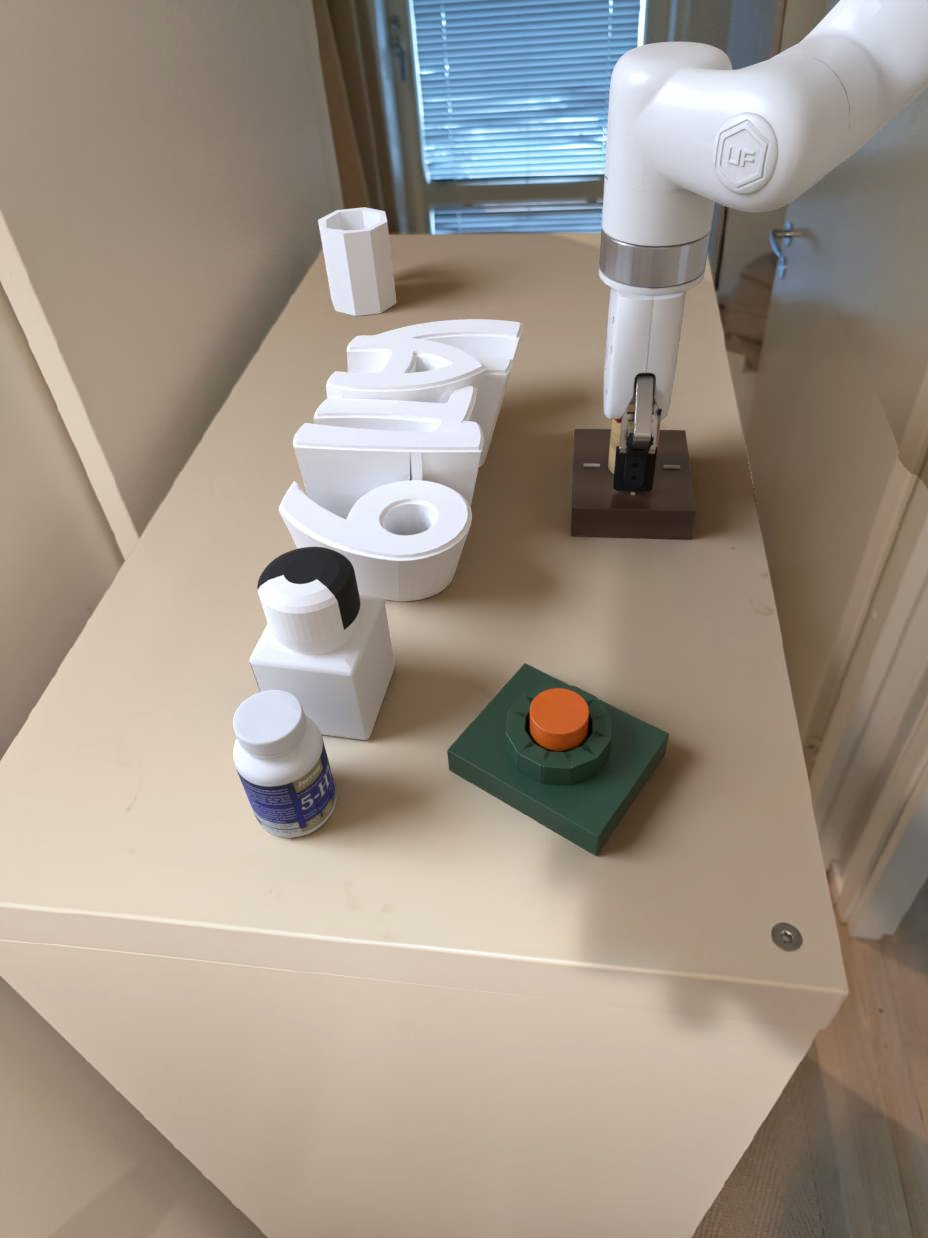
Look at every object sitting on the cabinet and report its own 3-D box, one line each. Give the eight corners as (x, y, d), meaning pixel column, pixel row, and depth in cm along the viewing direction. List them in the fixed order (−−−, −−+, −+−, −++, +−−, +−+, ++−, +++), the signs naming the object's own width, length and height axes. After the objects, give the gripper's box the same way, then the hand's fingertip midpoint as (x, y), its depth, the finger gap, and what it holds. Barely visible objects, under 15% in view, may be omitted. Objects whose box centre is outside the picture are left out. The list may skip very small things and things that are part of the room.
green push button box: (665, 754, 55) (673, 715, 52) (596, 856, 50) (599, 820, 47) (524, 683, 60) (524, 644, 57) (448, 770, 55) (444, 732, 52)
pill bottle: (324, 845, 52) (296, 759, 46) (243, 834, 53) (205, 748, 46) (347, 773, 55) (324, 685, 49) (272, 764, 56) (240, 676, 50)
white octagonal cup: (387, 317, 103) (377, 234, 96) (321, 314, 105) (306, 232, 98) (413, 276, 111) (405, 196, 104) (351, 273, 113) (339, 195, 106)
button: (598, 721, 53) (600, 704, 52) (568, 761, 51) (569, 743, 50) (549, 697, 55) (550, 679, 53) (518, 734, 53) (518, 716, 51)
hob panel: (691, 539, 70) (696, 509, 68) (570, 536, 72) (571, 506, 69) (681, 457, 79) (685, 428, 77) (573, 455, 80) (574, 426, 78)
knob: (640, 448, 75) (646, 395, 71) (663, 472, 72) (671, 418, 68) (599, 460, 74) (603, 406, 70) (622, 484, 71) (627, 430, 67)
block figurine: (305, 654, 63) (270, 529, 55) (396, 665, 62) (375, 538, 54) (270, 729, 58) (227, 604, 50) (369, 743, 57) (341, 616, 49)
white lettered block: (387, 389, 90) (375, 293, 83) (540, 401, 87) (541, 301, 80) (257, 616, 67) (224, 509, 59) (461, 644, 63) (452, 534, 56)
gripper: (600, 209, 67) (589, 409, 79) (598, 307, 55) (585, 525, 67) (698, 208, 66) (671, 410, 78) (718, 307, 54) (682, 528, 66)
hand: (631, 462), depth 73 cm, fingers open, 6 cm apart
